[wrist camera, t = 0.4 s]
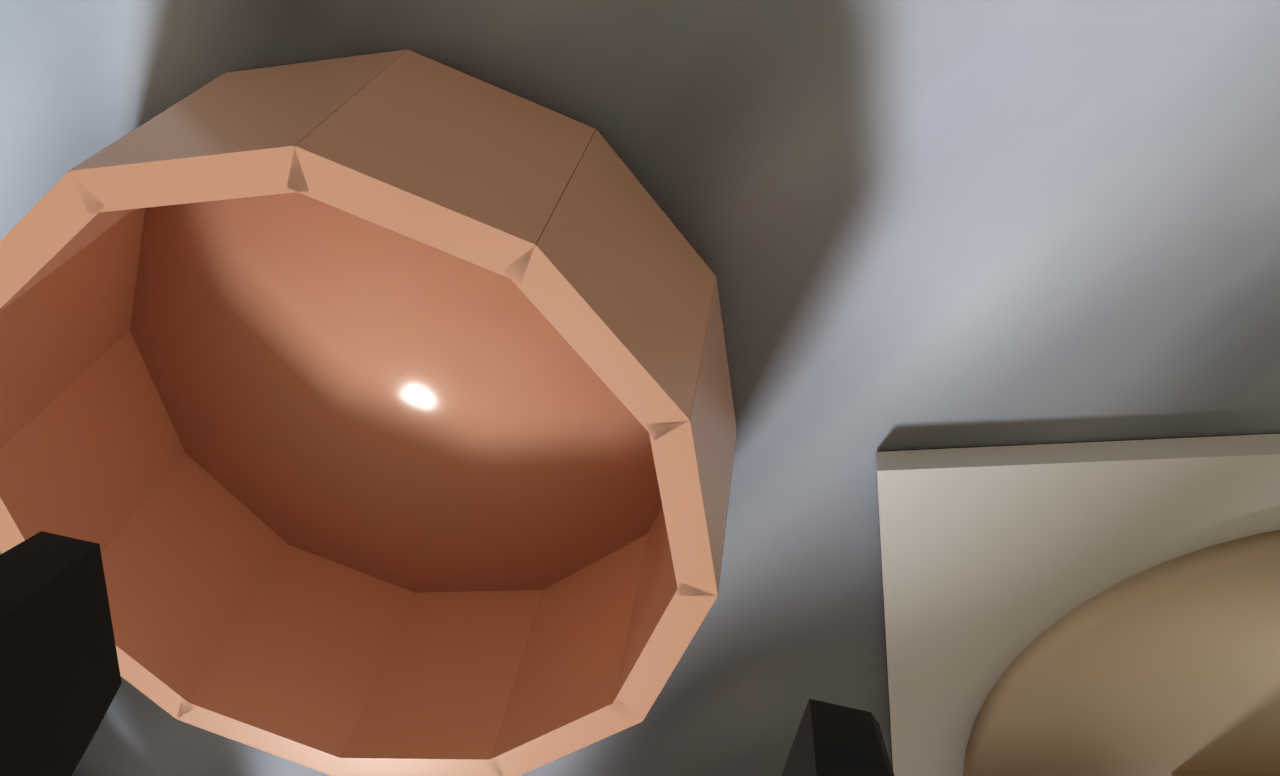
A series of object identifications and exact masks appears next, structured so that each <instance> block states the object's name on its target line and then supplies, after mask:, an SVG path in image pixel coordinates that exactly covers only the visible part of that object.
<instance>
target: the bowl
mask: <svg viewBox="0 0 1280 776" xmlns="http://www.w3.org/2000/svg"><path fill="white" fill-rule="evenodd" d="M736 436H737V428H736V420H735V413H734V405H733V398H732V390H731V383H730V375H729V368H728V360H727V353H726V345H725V338H724V330H723V323H722V315H721V308H720V300H719V293H718V285H717V277H716V276H715V274H714V273H713V272H712V271H711V270H710V268H709V267H708V266H707V265H706V263H705V262H704V261H703V260H702V258H701V257H700V256H699V255H698V254H697V252H696V251H695V250H694V249H693V247H692V246H691V245H690V244H689V242H688V241H687V240H686V239H685V238H684V236H683V235H682V234H681V233H680V231H679V230H678V229H677V228H676V226H675V225H674V224H673V223H672V222H671V220H670V219H669V218H668V217H667V215H666V214H665V213H664V212H663V210H662V209H661V208H660V207H659V206H658V204H657V203H656V202H655V201H654V199H653V198H652V197H651V196H650V194H649V193H648V192H647V191H646V190H645V188H644V187H643V186H642V185H641V183H640V182H639V181H638V180H637V178H636V177H635V176H634V175H633V174H632V172H631V171H630V170H629V169H628V167H627V166H626V165H625V164H624V162H623V161H622V160H621V159H620V158H619V156H618V155H617V154H616V153H615V151H614V150H613V149H612V148H611V146H610V145H609V144H608V143H607V142H606V140H605V139H604V138H603V137H602V135H601V134H600V133H599V132H598V130H597V129H595V128H593V127H590V126H588V125H586V124H583V123H581V122H579V121H576V120H574V119H571V118H569V117H567V116H564V115H562V114H560V113H557V112H555V111H553V110H550V109H548V108H545V107H543V106H541V105H538V104H536V103H534V102H531V101H529V100H526V99H524V98H522V97H519V96H517V95H515V94H512V93H510V92H508V91H505V90H503V89H500V88H498V87H496V86H493V85H491V84H489V83H486V82H484V81H482V80H479V79H477V78H474V77H472V76H470V75H467V74H465V73H463V72H460V71H458V70H455V69H453V68H451V67H448V66H446V65H444V64H441V63H439V62H437V61H434V60H432V59H429V58H427V57H425V56H422V55H420V54H418V53H415V52H413V51H410V50H407V49H406V50H398V51H390V52H382V53H374V54H367V55H359V56H351V57H343V58H336V59H328V60H320V61H312V62H305V63H297V64H289V65H281V66H273V67H266V68H258V69H250V70H242V71H235V72H227V73H223V74H222V75H220V76H219V77H217V78H215V79H214V80H212V81H211V82H209V83H208V84H206V85H204V86H203V87H201V88H200V89H198V90H196V91H195V92H193V93H192V94H190V95H189V96H187V97H185V98H184V99H182V100H181V101H179V102H177V103H176V104H174V105H173V106H171V107H170V108H168V109H166V110H165V111H163V112H162V113H160V114H158V115H157V116H155V117H154V118H152V119H151V120H149V121H147V122H146V123H144V124H143V125H141V126H139V127H138V128H136V129H135V130H133V131H132V132H130V133H128V134H127V135H125V136H124V137H122V138H120V139H119V140H117V141H116V142H114V143H113V144H111V145H109V146H108V147H106V148H105V149H103V150H101V151H100V152H98V153H97V154H95V155H94V156H92V157H90V158H89V159H87V160H86V161H84V162H82V163H81V164H79V165H78V166H76V167H75V168H73V169H71V170H70V171H68V172H67V173H66V174H65V175H64V176H63V178H62V179H61V180H60V181H59V182H58V183H57V184H56V185H55V186H54V187H53V188H52V189H51V190H50V191H49V192H48V193H47V194H46V195H45V196H44V197H43V198H42V199H41V200H40V201H39V202H38V203H37V204H36V205H35V206H34V207H33V208H32V209H31V210H30V211H29V212H28V213H27V215H26V216H25V217H24V218H23V219H22V220H21V221H20V222H19V223H18V224H17V225H16V226H15V227H14V228H13V229H12V230H11V231H10V232H9V233H8V234H7V235H6V236H5V237H4V238H3V239H2V240H1V241H0V552H1V554H3V553H4V552H6V551H8V550H9V549H11V548H13V547H14V546H16V545H18V544H20V543H21V542H23V541H25V540H27V539H28V538H30V537H32V536H34V535H35V534H37V533H39V532H41V531H43V532H48V533H52V534H57V535H62V536H66V537H71V538H75V539H80V540H84V541H89V542H94V543H98V544H100V549H101V556H102V562H103V568H104V575H105V581H106V587H107V594H108V600H109V607H110V613H111V619H112V626H113V632H114V638H115V645H116V651H117V657H118V664H119V670H120V676H121V677H122V678H124V679H125V680H126V681H128V682H129V683H130V684H131V685H133V686H134V687H135V688H137V689H138V690H139V691H140V692H142V693H143V694H144V695H146V696H147V697H148V698H149V699H151V700H152V701H153V702H155V703H156V704H157V705H158V706H160V707H161V708H162V709H164V710H165V711H166V712H167V713H169V714H170V715H171V716H173V717H174V718H175V719H177V720H179V721H182V722H185V723H188V724H190V725H193V726H196V727H199V728H201V729H204V730H207V731H210V732H212V733H215V734H218V735H221V736H223V737H226V738H229V739H232V740H234V741H237V742H240V743H243V744H246V745H248V746H251V747H254V748H257V749H259V750H262V751H265V752H268V753H270V754H273V755H276V756H279V757H281V758H284V759H287V760H290V761H292V762H295V763H298V764H301V765H304V766H306V767H309V768H312V769H315V770H317V771H320V772H323V773H326V774H328V775H331V776H520V775H523V774H525V773H527V772H529V771H532V770H534V769H536V768H538V767H541V766H543V765H545V764H548V763H550V762H552V761H554V760H557V759H559V758H561V757H563V756H566V755H568V754H570V753H572V752H575V751H577V750H579V749H581V748H584V747H586V746H588V745H591V744H593V743H595V742H597V741H600V740H602V739H604V738H606V737H609V736H611V735H613V734H615V733H618V732H620V731H622V730H625V729H627V728H629V727H631V726H634V725H636V724H638V723H640V722H642V721H643V720H644V718H645V717H646V715H647V713H648V712H649V710H650V708H651V707H652V705H653V703H654V702H655V700H656V698H657V697H658V695H659V693H660V692H661V690H662V688H663V687H664V685H665V683H666V682H667V680H668V678H669V677H670V675H671V673H672V672H673V670H674V668H675V667H676V665H677V663H678V662H679V660H680V658H681V657H682V655H683V653H684V652H685V650H686V648H687V647H688V645H689V643H690V642H691V640H692V638H693V637H694V635H695V633H696V632H697V630H698V628H699V627H700V625H701V623H702V622H703V620H704V618H705V617H706V615H707V613H708V612H709V610H710V608H711V607H712V605H713V603H714V602H715V600H716V598H717V597H718V590H719V582H720V573H721V565H722V556H723V548H724V539H725V530H726V522H727V513H728V505H729V496H730V487H731V479H732V470H733V462H734V453H735V445H736Z"/></svg>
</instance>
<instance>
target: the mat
mask: <svg viewBox="0 0 1280 776" xmlns="http://www.w3.org/2000/svg"><path fill="white" fill-rule="evenodd" d="M876 466H877V485H878V503H879V522H880V540H881V559H882V577H883V596H884V614H885V633H886V651H887V670H888V688H889V707H890V725H891V744H892V762H893V773H894V776H963V772H964V762H965V751H966V747H967V743H968V740H969V737H970V734H971V730H972V727H973V724H974V721H975V719H976V717H977V715H978V713H979V711H980V709H981V707H982V705H983V703H984V701H985V699H986V698H987V696H988V694H989V692H990V691H991V689H992V688H993V687H994V685H995V684H996V683H997V681H998V680H999V679H1000V677H1001V676H1002V675H1003V673H1004V672H1005V671H1006V669H1007V668H1008V667H1009V665H1010V664H1011V663H1012V662H1013V661H1014V660H1015V659H1016V658H1017V657H1018V656H1019V655H1020V654H1021V653H1022V652H1023V651H1024V650H1025V649H1026V648H1027V647H1028V646H1029V645H1030V644H1031V643H1032V642H1033V641H1034V640H1035V639H1036V638H1037V637H1038V636H1039V635H1040V634H1042V633H1043V632H1044V631H1046V630H1047V629H1048V628H1050V627H1051V626H1052V625H1053V624H1055V623H1056V622H1057V621H1059V620H1060V619H1061V618H1062V617H1064V616H1065V615H1066V614H1068V613H1069V612H1070V611H1072V610H1073V609H1075V608H1076V607H1078V606H1080V605H1081V604H1083V603H1085V602H1086V601H1088V600H1090V599H1091V598H1093V597H1095V596H1096V595H1098V594H1100V593H1101V592H1103V591H1105V590H1106V589H1108V588H1110V587H1111V586H1113V585H1115V584H1117V583H1120V582H1122V581H1124V580H1126V579H1128V578H1130V577H1132V576H1134V575H1137V574H1139V573H1141V572H1143V571H1145V570H1147V569H1149V568H1151V567H1154V566H1156V565H1158V564H1161V563H1164V562H1166V561H1169V560H1172V559H1175V558H1178V557H1180V556H1183V555H1186V554H1189V553H1191V552H1194V551H1197V550H1200V549H1203V548H1205V547H1209V546H1212V545H1216V544H1220V543H1224V542H1228V541H1232V540H1236V539H1240V538H1243V537H1247V536H1251V535H1255V534H1259V533H1264V532H1270V531H1276V530H1280V434H1262V435H1240V436H1217V437H1195V438H1173V439H1151V440H1129V441H1107V442H1084V443H1062V444H1040V445H1018V446H996V447H973V448H951V449H929V450H907V451H885V452H876Z"/></svg>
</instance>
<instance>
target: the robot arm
mask: <svg viewBox="0 0 1280 776" xmlns="http://www.w3.org/2000/svg"><path fill="white" fill-rule="evenodd" d="M120 685H121V676H120V670H119V664H118V657H117V651H116V645H115V638H114V632H113V626H112V619H111V613H110V607H109V600H108V594H107V587H106V581H105V575H104V568H103V562H102V556H101V549H100V544H98V543H94V542H89V541H84V540H80V539H75V538H71V537H66V536H62V535H57V534H52V533H48V532H43V531H41V532H39V533H37V534H35V535H34V536H32V537H30V538H28V539H27V540H25V541H23V542H21V543H20V544H18V545H16V546H14V547H13V548H11V549H9V550H8V551H6V552H4V553H3V554H1V555H0V776H71V775H72V773H73V772H74V770H75V768H76V766H77V765H78V763H79V761H80V759H81V757H82V756H83V754H84V752H85V750H86V749H87V747H88V745H89V743H90V742H91V740H92V738H93V736H94V734H95V733H96V731H97V729H98V727H99V725H100V723H101V721H102V719H103V717H104V715H105V714H106V712H107V710H108V708H109V706H110V704H111V702H112V700H113V698H114V696H115V695H116V693H117V691H118V689H119V687H120ZM782 776H894V773H893V770H892V767H891V763H890V760H889V757H888V754H887V750H886V747H885V744H884V741H883V737H882V734H881V730H880V727H879V723H878V722H877V720H876V719H875V717H874V716H873V715H872V713H871V712H866V711H862V710H857V709H853V708H848V707H844V706H839V705H834V704H830V703H825V702H821V701H816V700H812V699H809V701H808V704H807V707H806V709H805V712H804V715H803V718H802V721H801V723H800V726H799V729H798V732H797V734H796V737H795V740H794V743H793V746H792V748H791V751H790V754H789V757H788V760H787V762H786V765H785V768H784V771H783V773H782Z"/></svg>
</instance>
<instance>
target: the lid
mask: <svg viewBox="0 0 1280 776" xmlns="http://www.w3.org/2000/svg"><path fill="white" fill-rule="evenodd" d="M963 776H1280V530H1276V531H1270V532H1264V533H1259V534H1255V535H1251V536H1247V537H1243V538H1240V539H1236V540H1232V541H1228V542H1224V543H1220V544H1216V545H1212V546H1209V547H1205V548H1203V549H1200V550H1197V551H1194V552H1191V553H1189V554H1186V555H1183V556H1180V557H1178V558H1175V559H1172V560H1169V561H1166V562H1164V563H1161V564H1158V565H1156V566H1154V567H1151V568H1149V569H1147V570H1145V571H1143V572H1141V573H1139V574H1137V575H1134V576H1132V577H1130V578H1128V579H1126V580H1124V581H1122V582H1120V583H1117V584H1115V585H1113V586H1111V587H1110V588H1108V589H1106V590H1105V591H1103V592H1101V593H1100V594H1098V595H1096V596H1095V597H1093V598H1091V599H1090V600H1088V601H1086V602H1085V603H1083V604H1081V605H1080V606H1078V607H1076V608H1075V609H1073V610H1072V611H1070V612H1069V613H1068V614H1066V615H1065V616H1064V617H1062V618H1061V619H1060V620H1059V621H1057V622H1056V623H1055V624H1053V625H1052V626H1051V627H1050V628H1048V629H1047V630H1046V631H1044V632H1043V633H1042V634H1040V635H1039V636H1038V637H1037V638H1036V639H1035V640H1034V641H1033V642H1032V643H1031V644H1030V645H1029V646H1028V647H1027V648H1026V649H1025V650H1024V651H1023V652H1022V653H1021V654H1020V655H1019V656H1018V657H1017V658H1016V659H1015V660H1014V661H1013V662H1012V663H1011V664H1010V665H1009V667H1008V668H1007V669H1006V671H1005V672H1004V673H1003V675H1002V676H1001V677H1000V679H999V680H998V681H997V683H996V684H995V685H994V687H993V688H992V689H991V691H990V692H989V694H988V696H987V698H986V699H985V701H984V703H983V705H982V707H981V709H980V711H979V713H978V715H977V717H976V719H975V721H974V724H973V727H972V730H971V734H970V737H969V740H968V743H967V747H966V751H965V762H964V772H963Z"/></svg>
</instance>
